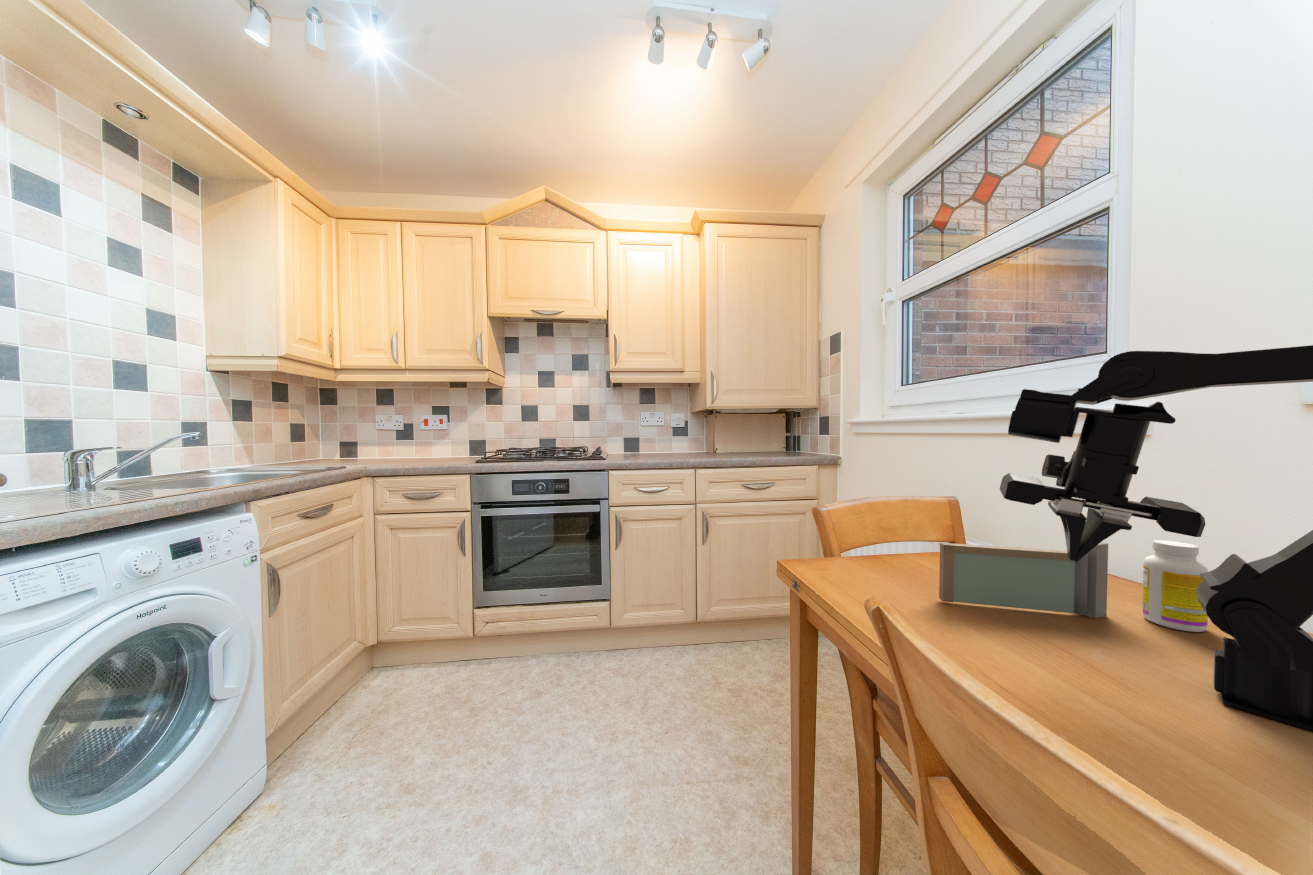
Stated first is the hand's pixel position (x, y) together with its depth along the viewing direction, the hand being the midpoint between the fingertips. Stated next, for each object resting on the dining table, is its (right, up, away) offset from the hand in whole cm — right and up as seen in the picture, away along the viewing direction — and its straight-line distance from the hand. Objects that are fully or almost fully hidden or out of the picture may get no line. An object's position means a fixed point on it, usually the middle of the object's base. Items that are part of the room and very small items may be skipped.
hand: (1072, 559), depth 60 cm
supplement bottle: (+24, -13, +9) cm, 29 cm away
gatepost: (+15, -13, +12) cm, 23 cm away
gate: (+3, -12, +14) cm, 18 cm away
